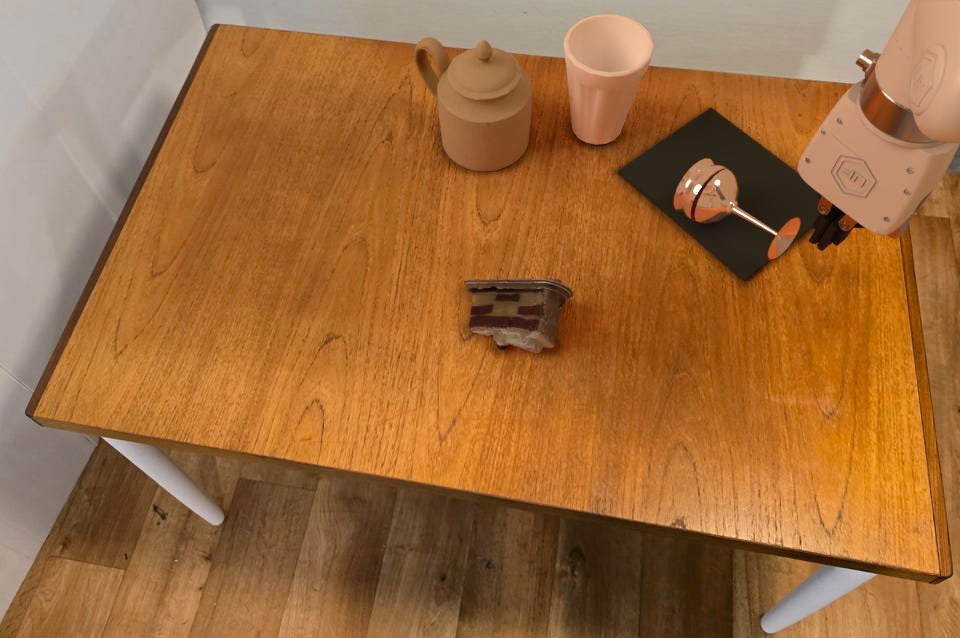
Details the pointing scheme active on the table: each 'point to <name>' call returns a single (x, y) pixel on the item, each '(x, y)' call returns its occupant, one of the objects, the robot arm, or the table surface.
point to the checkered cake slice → (517, 311)
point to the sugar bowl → (478, 103)
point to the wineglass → (722, 202)
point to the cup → (604, 73)
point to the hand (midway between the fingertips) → (824, 238)
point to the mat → (761, 184)
